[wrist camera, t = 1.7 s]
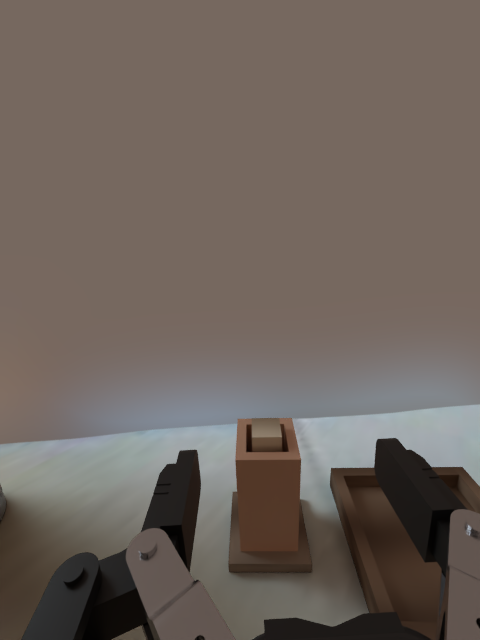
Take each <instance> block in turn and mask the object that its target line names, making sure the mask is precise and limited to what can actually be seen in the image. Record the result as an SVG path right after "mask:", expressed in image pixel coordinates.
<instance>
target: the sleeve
mask: <svg viewBox="0 0 480 640" xmlns="http://www.w3.org/2000/svg"><path fill="white" fill-rule="evenodd" d="M279 421H280V427H281V434H282V452H252V419H238V425H237V443H236V477H237V495H238V513H239V531H240V549H241V551H298V535H299V503H300V472H301V458H300V453H299V449H298V444H297V440H296V435H295V431H294V426H293V422H292V418H279Z"/></svg>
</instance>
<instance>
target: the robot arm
mask: <svg viewBox="0 0 480 640" xmlns="http://www.w3.org/2000/svg"><path fill="white" fill-rule="evenodd" d="M374 469H375V476H376V479H377V482H378V484H379V485H380V487H381V489H382V491H383V492H384V494H385V496H386V497H387V499H388V501H389V502H390V504H391V506H392V508H393V509H394V511H395V513H396V514H397V516H398V518H399V519H400V521H401V523H402V525H403V526H404V528H405V530H406V531H407V533H408V535H409V537H410V538H411V540H412V542H413V543H414V545H415V547H416V548H417V550H418V552H419V554H420V555H421V557H422V559H423V560H424V562H425V563H427V562H437V563H438V564H439V566H440V567H441V575H440V589H439V603H438V617H437V630H436V639H435V640H480V514H479V513H476V512H474V511H470V510H468V509H467V508H466V507H465V506H464V505H463V503H462V502H461V501H460V500H459V499H458V498H457V497H456V495H455V494H454V493H453V492H452V491H451V490H450V488H449V487H448V486H447V485H446V484H445V483H444V481H443V480H442V479H440V478H439V476H438V474H437V473H436V472H435V471H434V470H432V467H431V466H430V465H429V464H428V463H427V462H426V460H425V459H424V458H423V457H421V456H420V455H418V454H417V453H415V452H414V451H412V450H406V449H405V448H404V447H403V445H402V444H401V443H400V442H399V440H398V439H396V438H389V439H378V440H377V442H376V453H375V466H374ZM200 490H201V479H200V470H199V461H198V453H197V450H184V451H180V452H179V455H178V459H177V463H176V464H167V465H166V467H165V468H164V469H163V470H162V472H161V473H160V475H159V478H158V481H157V484H156V487H155V490H154V495H153V497H152V500H151V503H150V506H149V509H148V512H147V515H146V518H145V521H144V525H143V528H142V530H141V533H139V534H138V535H137V536H136V537H135V538H134V539H133V540H132V541H131V543H130V544H129V546H128V548H127V549H125V550H124V551H122V552H120V553H118V554H115V555H112V556H110V557H107V558H105V559H102V560H99V561H98V558H97V557H96V556H95V555H94V554H92V553H88V552H87V553H80V554H77V555H75V556H73V557H71V558H69V559H68V560H66V561H65V562H64V563H63V564H62V565H61V566H60V567H59V568H58V569H57V570H56V572H55V573H54V574H53V576H52V578H51V580H50V582H49V584H48V586H47V588H46V590H45V592H44V594H43V596H42V598H41V600H40V602H39V604H38V607H37V609H36V611H35V613H34V615H33V617H32V619H31V621H30V623H29V625H28V627H27V629H26V631H25V633H24V635H23V637H22V639H21V640H111V639H113V638H115V637H117V636H119V635H121V634H124V633H126V632H128V631H130V630H132V629H134V628H136V627H138V626H140V625H141V626H142V629H143V632H144V635H145V637H146V640H235V638H234V636H233V635H232V633H231V631H230V630H229V628H228V626H227V625H226V623H225V621H224V620H223V618H222V616H221V615H220V613H219V611H218V610H217V608H216V606H215V604H214V603H213V601H212V599H211V598H210V596H209V594H208V593H207V591H206V589H205V588H204V586H203V585H202V583H201V582H200V581H199V580H196V581H194V580H193V578H192V577H191V575H190V573H189V572H190V565H191V557H192V550H193V543H194V535H195V528H196V521H197V513H198V506H199V499H200ZM5 509H6V499H5V497H4V494H3V492H2V487H1V485H0V521H1V519H2V517H3V515H4V513H5ZM264 629H265V633H263V634H261V635H259V636H257V637H255V638H254V639H252V640H431V639H430V638H428V637H427V636H425V635H423V634H422V633H420V632H418V631H416V630H413V629H411V628H408V627H405V626H402V624H401V621H400V619H399V617H398V614H397V612H383V613H367V614H362V615H360V616H358V617H355V618H353V619H351V620H349V621H346V622H344V623H342V624H340V625H337V626H334V627H330V626H326V625H322V624H318V623H314V622H311V621H307V620H303V619H299V618H286V619H269V620H264Z"/></svg>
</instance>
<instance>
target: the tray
mask: <svg viewBox="0 0 480 640" xmlns="http://www.w3.org/2000/svg"><path fill="white" fill-rule="evenodd" d="M432 470H434V471H435V472H436V473H437V474H438V476H439V478H440V479H442V480H443V481H444V483H445V484H446V485H447V486H448V487H449V488H450V490H451V491H452V492H453V493H454V494H455V495H456V497H457V498H458V499H459V500H460V501H461V502H462V503H463V505H464V506H465V507H466V508H467V509H468V510H470V511H474V512H476V513H479V514H480V487H479V486H478V484H477V483H476V482H475V481H474V480H473V479H472V478H471V476H470V475H469V474H468V473H467V472H466V471H465V470H464V468H463V467H432ZM330 487H331V490H332V493H333V497H334V500H335V503H336V506H337V510H338V513H339V516H340V519H341V522H342V526H343V529H344V532H345V535H346V539H347V542H348V545H349V548H350V551H351V555H352V558H353V561H354V564H355V568H356V571H357V574H358V577H359V580H360V584H361V587H362V590H363V593H364V597H365V600H366V603H367V606H368V609H369V613H383V612H397V614H398V617H399V619H400V621H401V624H402V626H405V627H408V628H411V629H413V630H416V631H418V632H420V633H422V634H423V635H425V636H427V637H428V638H430V639H431V640H435V639H436V630H437V617H438V603H439V589H440V575H441V567H440V566H439V564H438V563H437V562H427V563H425V562H424V560H423V559H422V557H421V555H420V554H419V552H418V550H417V548H416V547H415V545H414V543H413V542H412V540H411V538H410V537H409V535H408V533H407V531H406V530H405V528H404V526H403V525H402V523H401V521H400V519H399V518H398V516H397V514H396V513H395V511H394V509H393V508H392V506H391V504H390V502H389V501H388V499H387V497H386V496H385V494H384V492H383V491H382V489H381V487H380V485H379V484H378V482H377V479H376V476H375V469H374V468H331V477H330Z"/></svg>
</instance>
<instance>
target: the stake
mask: <svg viewBox="0 0 480 640" xmlns="http://www.w3.org/2000/svg"><path fill="white" fill-rule="evenodd" d="M252 452H282V434H281V427H280V421H279V418H256V419H252ZM229 572H312V562H311V556H310V551H309V546H308V540H307V535H306V529H305V524H304V519H303V513H302V508H301V503H299V535H298V551H241V549H240V531H239V513H238V495H237V492H233V497H232V514H231V530H230V547H229Z"/></svg>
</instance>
